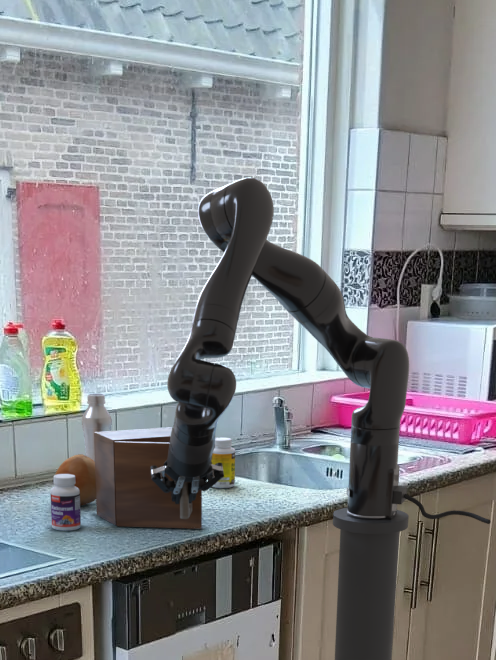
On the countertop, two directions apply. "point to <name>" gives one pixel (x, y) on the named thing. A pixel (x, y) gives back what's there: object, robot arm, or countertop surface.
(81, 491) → the onion
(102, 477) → the cabinet
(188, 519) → the door
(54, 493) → the pill bottle
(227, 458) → the supplement bottle
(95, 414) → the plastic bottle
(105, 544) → the countertop surface
